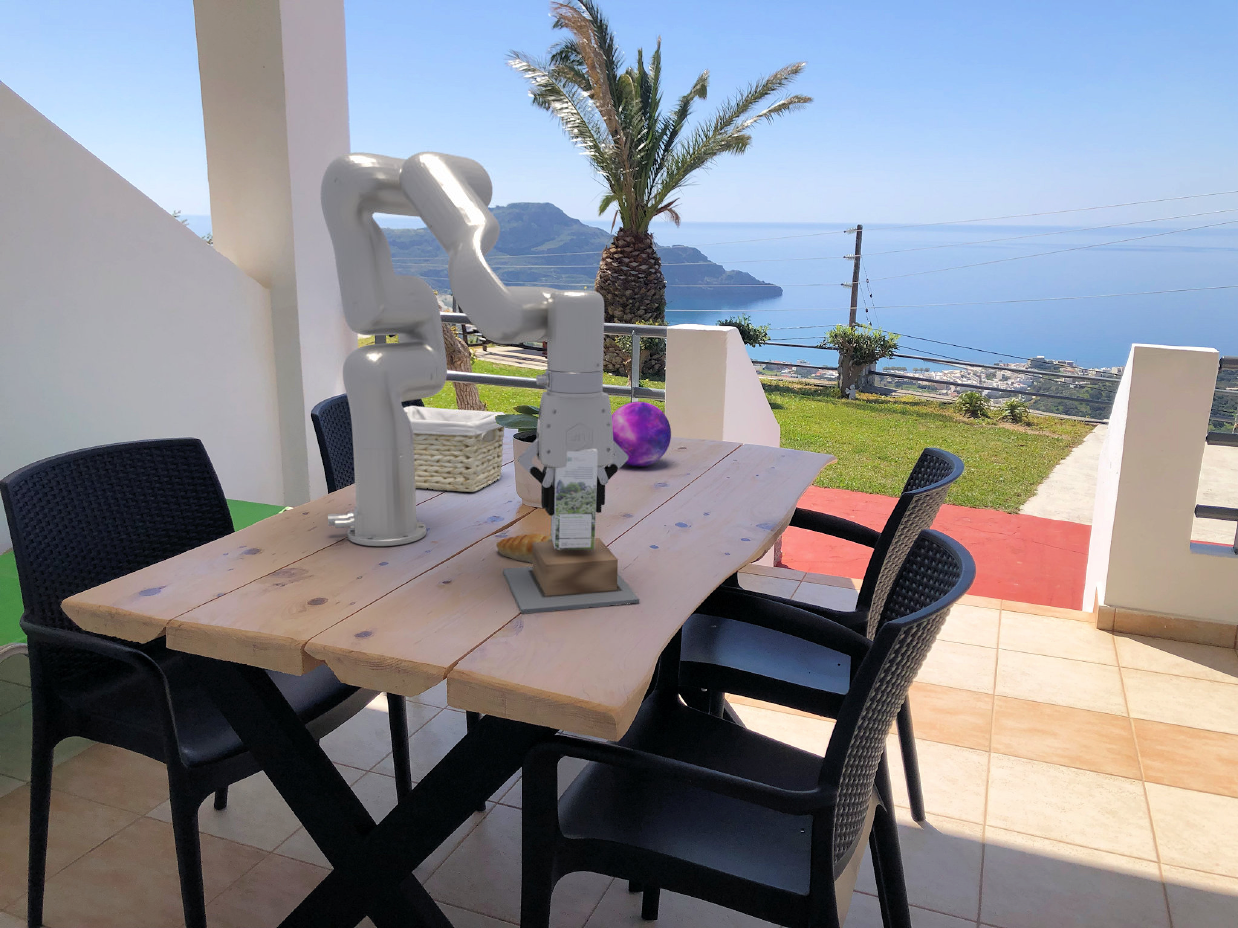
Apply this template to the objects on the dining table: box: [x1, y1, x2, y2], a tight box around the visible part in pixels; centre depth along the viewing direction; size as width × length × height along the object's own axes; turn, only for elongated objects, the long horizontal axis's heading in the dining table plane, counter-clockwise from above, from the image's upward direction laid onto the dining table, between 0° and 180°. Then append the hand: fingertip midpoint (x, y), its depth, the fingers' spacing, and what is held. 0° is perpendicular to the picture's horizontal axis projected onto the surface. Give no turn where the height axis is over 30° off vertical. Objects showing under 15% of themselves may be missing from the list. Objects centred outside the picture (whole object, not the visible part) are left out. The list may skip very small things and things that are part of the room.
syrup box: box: [550, 449, 598, 550], centre depth 118 cm, size 6×6×14 cm
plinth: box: [528, 537, 621, 598], centre depth 120 cm, size 11×11×5 cm
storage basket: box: [403, 405, 506, 493], centre depth 176 cm, size 24×16×15 cm
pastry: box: [496, 533, 552, 563], centre depth 133 cm, size 9×7×4 cm
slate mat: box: [502, 566, 640, 614], centre depth 119 cm, size 16×16×1 cm
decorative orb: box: [611, 401, 672, 468], centre depth 195 cm, size 15×15×15 cm
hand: (573, 510), depth 118 cm, fingers closed on syrup box, 6 cm apart
